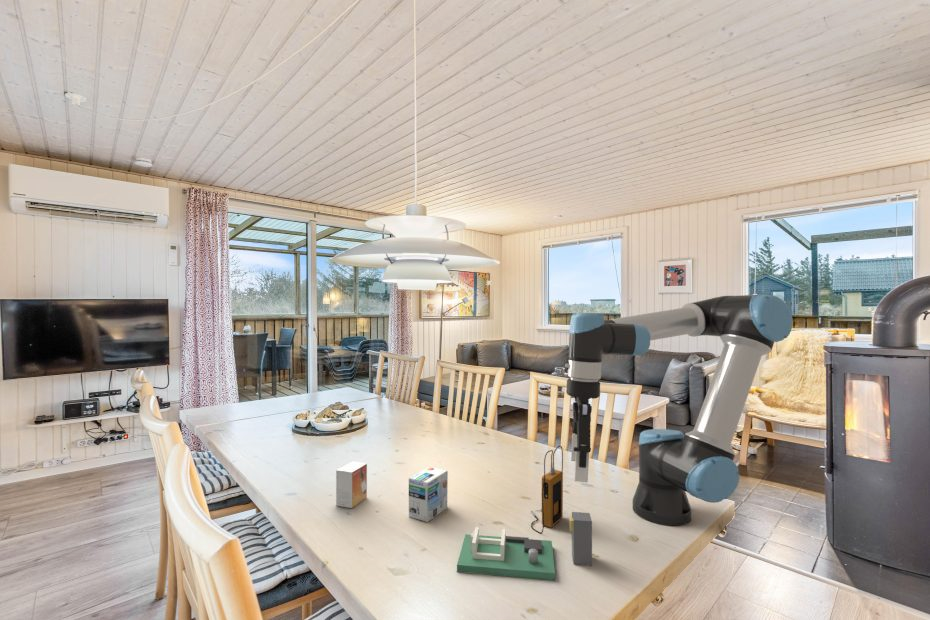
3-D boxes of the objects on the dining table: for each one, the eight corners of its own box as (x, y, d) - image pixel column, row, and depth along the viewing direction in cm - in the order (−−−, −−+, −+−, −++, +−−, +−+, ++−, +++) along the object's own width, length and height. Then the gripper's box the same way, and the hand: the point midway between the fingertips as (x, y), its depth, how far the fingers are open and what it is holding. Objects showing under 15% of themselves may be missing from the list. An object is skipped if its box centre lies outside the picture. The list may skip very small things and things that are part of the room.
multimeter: (537, 504, 128) (537, 436, 128) (568, 513, 122) (568, 442, 122) (510, 523, 117) (510, 448, 117) (544, 535, 111) (544, 456, 111)
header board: (551, 547, 105) (551, 526, 105) (554, 580, 92) (554, 556, 92) (465, 540, 108) (465, 520, 108) (456, 571, 95) (456, 548, 95)
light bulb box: (427, 523, 117) (427, 482, 117) (407, 517, 120) (407, 478, 120) (448, 507, 126) (448, 470, 126) (429, 502, 130) (429, 465, 130)
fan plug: (589, 555, 101) (589, 512, 101) (591, 565, 97) (592, 521, 97) (569, 554, 102) (569, 511, 102) (570, 564, 98) (570, 519, 98)
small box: (351, 509, 125) (351, 472, 125) (335, 506, 127) (335, 470, 127) (367, 497, 132) (367, 463, 132) (351, 495, 134) (351, 460, 134)
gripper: (564, 371, 115) (560, 452, 114) (570, 385, 90) (564, 488, 90) (594, 373, 113) (590, 455, 113) (607, 388, 89) (602, 493, 88)
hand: (578, 470), depth 101 cm, fingers open, 13 cm apart
